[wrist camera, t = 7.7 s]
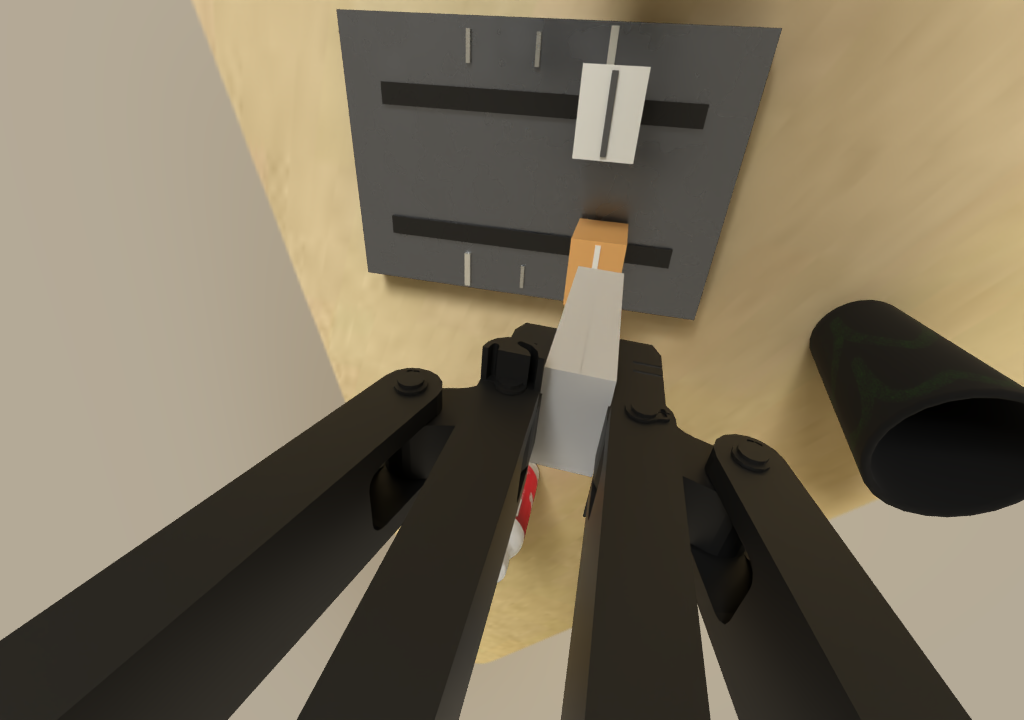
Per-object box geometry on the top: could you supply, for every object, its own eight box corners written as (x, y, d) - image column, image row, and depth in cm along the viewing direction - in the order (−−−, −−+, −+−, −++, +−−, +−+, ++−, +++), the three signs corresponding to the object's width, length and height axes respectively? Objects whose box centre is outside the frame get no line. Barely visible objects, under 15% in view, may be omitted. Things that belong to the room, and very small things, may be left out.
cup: (792, 295, 30) (868, 400, 20) (935, 274, 28) (1101, 382, 18) (792, 389, 34) (856, 518, 24) (918, 379, 31) (1049, 518, 21)
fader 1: (591, 65, 24) (582, 63, 20) (648, 69, 24) (650, 66, 20) (581, 147, 26) (571, 158, 23) (633, 152, 26) (633, 164, 22)
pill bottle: (521, 498, 47) (492, 600, 38) (470, 469, 46) (428, 565, 37) (552, 464, 43) (529, 567, 34) (497, 432, 43) (459, 528, 34)
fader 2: (579, 218, 28) (571, 239, 25) (628, 223, 28) (627, 245, 24) (571, 278, 31) (562, 305, 27) (616, 284, 30) (613, 313, 26)
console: (354, 13, 28) (334, 8, 26) (771, 32, 24) (783, 27, 22) (380, 263, 36) (366, 273, 34) (691, 307, 32) (694, 321, 30)
